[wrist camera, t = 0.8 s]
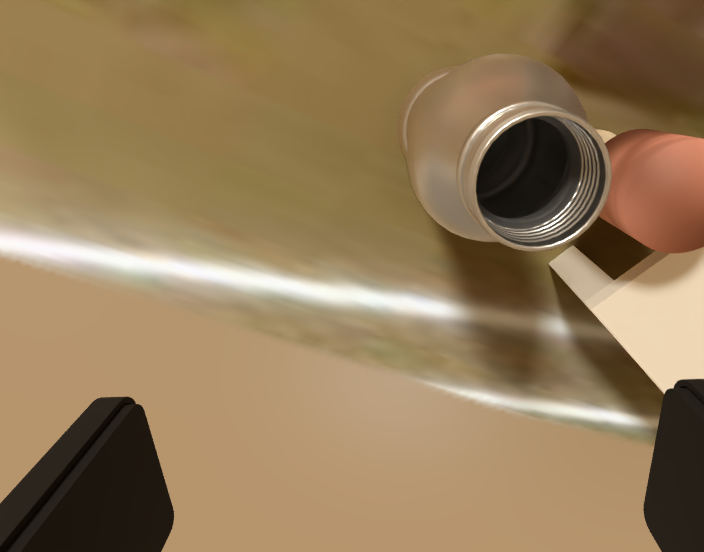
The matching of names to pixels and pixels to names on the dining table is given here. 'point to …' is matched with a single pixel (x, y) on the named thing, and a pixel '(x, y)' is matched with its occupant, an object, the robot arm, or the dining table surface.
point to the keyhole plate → (647, 309)
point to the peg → (656, 188)
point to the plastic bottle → (504, 153)
